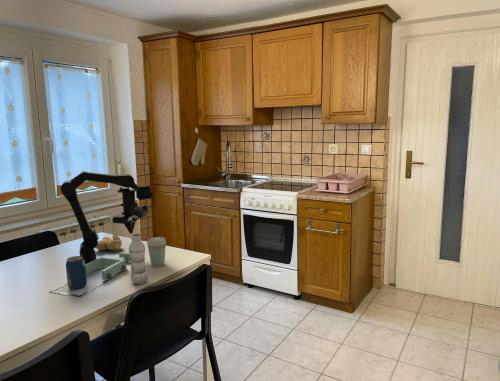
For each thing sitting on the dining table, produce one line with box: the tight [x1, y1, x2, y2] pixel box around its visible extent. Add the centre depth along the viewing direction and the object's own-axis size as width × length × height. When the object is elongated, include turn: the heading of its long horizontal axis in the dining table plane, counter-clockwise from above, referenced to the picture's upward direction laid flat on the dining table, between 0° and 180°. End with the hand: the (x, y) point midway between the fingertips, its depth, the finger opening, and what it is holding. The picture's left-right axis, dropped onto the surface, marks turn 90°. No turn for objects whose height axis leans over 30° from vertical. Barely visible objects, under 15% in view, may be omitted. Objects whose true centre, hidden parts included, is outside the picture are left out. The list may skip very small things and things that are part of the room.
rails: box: [49, 268, 128, 298], centre depth 162 cm, size 15×29×1 cm, turn 161°
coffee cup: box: [146, 236, 167, 268], centre depth 177 cm, size 8×8×12 cm
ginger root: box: [94, 233, 123, 252], centre depth 201 cm, size 16×16×8 cm
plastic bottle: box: [128, 233, 148, 285], centre depth 157 cm, size 6×7×20 cm
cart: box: [85, 251, 131, 281], centre depth 173 cm, size 15×23×4 cm, turn 161°
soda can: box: [65, 255, 88, 291], centre depth 154 cm, size 7×7×12 cm
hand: (131, 233), depth 187 cm, fingers closed
